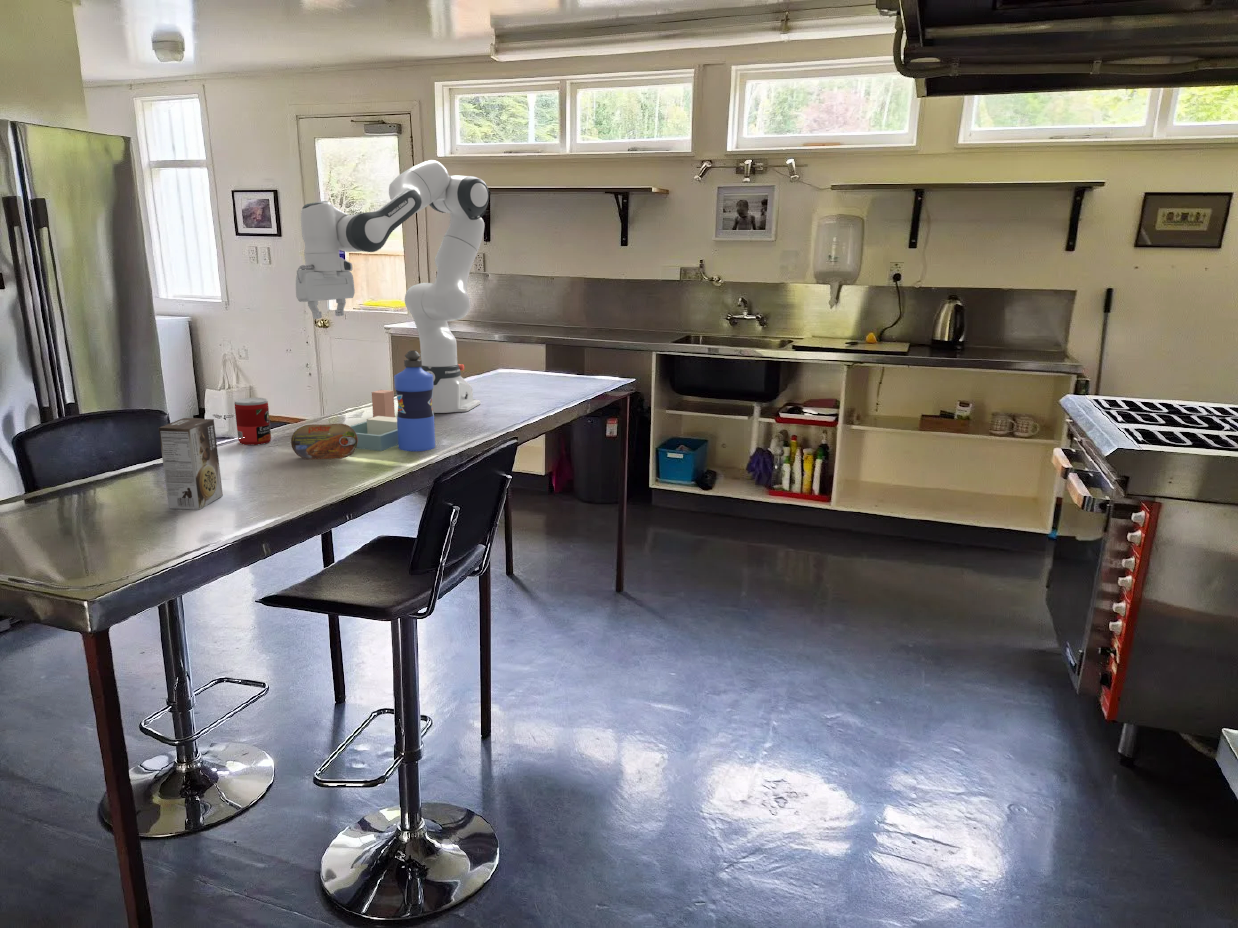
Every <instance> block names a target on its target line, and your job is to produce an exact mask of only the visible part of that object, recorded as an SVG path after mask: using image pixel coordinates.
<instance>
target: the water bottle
mask: <svg viewBox="0 0 1238 928" xmlns="http://www.w3.org/2000/svg"><path fill="white" fill-rule="evenodd" d="M404 357H405V358H406V359H404V360H403V363H404V364H403V367H405V368H404V369H403V370H402V371H400V372H398V373H397V374H394V376H393V379H394V380H393V381H394V382H393V383H394V389H395V393H396V401H397V405H398V406H397V414H396V418H397V428H398V445H397V446H398V447H397V448H398V449H399V450H400V451H405V452H425V451H430V450H434V449H435V448H436V433H435V432H436V429H435V415H434V414H435V413H433V408H432V394H433V388H434V386H433V375H432V374H430V373H428V372H426V371H424V370H423V369H422V368H421V366H422V360H421V353H419V352H418V351H417V350H408V352H407V353H406V354H405V355H404Z"/></svg>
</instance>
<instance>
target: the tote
mask: <svg viewBox="0 0 1238 928" xmlns="http://www.w3.org/2000/svg"><path fill="white" fill-rule="evenodd" d="M349 426H350V427H351V428H352V429H353V430H354V431H355V432H356V434H357V438H358V443H357V447H356V449H359V450H369V451H377V452H383V451H385V450H389V449H391V448H393V447H396V446H398V429H396V430H393V431H390V432H387V433H384V434H381V435H374V434H368V432H367V420H365V421H362V422H359V423H358V422H357V423H356V424H352V425H349Z"/></svg>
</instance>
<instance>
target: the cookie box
mask: <svg viewBox="0 0 1238 928" xmlns="http://www.w3.org/2000/svg"><path fill="white" fill-rule="evenodd" d="M215 428H216V427H215V420H214V419H213V418H209V419H208V418H198V417H183V418H181V419H178V420H175V421H172V422H170V423H167V424H165V425H163V426H162V425H161V426H160V427H158V428H157V429H158V435H159V441H160V450H161V456H162V464H163V471H164V472H163V473H164V474H163V475H164V481H165V482H164V483H165V488H166V495H167V504H168V508H169V509H172V510H174V509H175V510H176V509H177V510H201V509H203V508H205V507H206V506H208V505H210V504H211V503H213V502H214V501H216V500H218V499H219V498H221V497H223V495H224V494H223V485H222V476H221V469H220V460H219V451H218V443H217V435H216V429H215Z"/></svg>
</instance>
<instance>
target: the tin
mask: <svg viewBox="0 0 1238 928" xmlns="http://www.w3.org/2000/svg"><path fill="white" fill-rule="evenodd" d="M350 426H351V425H348V424H345V423H321V424H320V423H319V424H317V423H316V424H315V423H314V424H305V425H302V426H300V427H299V428H297V429H296V430H295V431H294V432H293V433H292V436H291V438H290V439H291V441H290V443H291V448H292V450H293V452H294V454H296V455H297V456H298V457H300V458H301V459H304V460H309V461H311V460H312V461H313V460H314V461H315V460H335V459H337V460H338V459H345V458H349V456H351V455H352V454H354V452H355V451H356V449H357V448H356V447H357V443H358V438H357V434H356V432H355V431H354V430H353V429H352V428H351V427H350Z"/></svg>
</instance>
